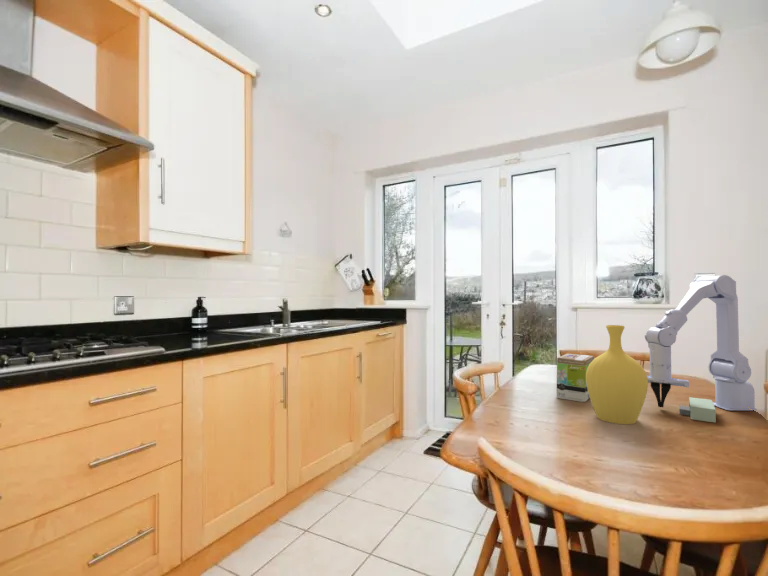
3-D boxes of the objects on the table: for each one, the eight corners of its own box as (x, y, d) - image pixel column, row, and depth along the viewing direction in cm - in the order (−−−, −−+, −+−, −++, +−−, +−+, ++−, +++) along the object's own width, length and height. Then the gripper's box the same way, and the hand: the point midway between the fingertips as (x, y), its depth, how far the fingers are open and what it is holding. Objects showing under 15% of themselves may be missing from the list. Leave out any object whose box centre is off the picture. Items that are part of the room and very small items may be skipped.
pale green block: (690, 419, 118) (690, 406, 118) (689, 408, 128) (688, 397, 128) (715, 422, 114) (715, 409, 114) (711, 411, 125) (711, 399, 125)
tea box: (586, 403, 135) (586, 360, 135) (555, 398, 141) (555, 357, 141) (594, 394, 147) (594, 354, 147) (565, 390, 153) (565, 352, 153)
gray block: (679, 415, 122) (679, 409, 122) (679, 411, 126) (679, 405, 127) (708, 419, 118) (708, 413, 118) (707, 415, 122) (707, 409, 122)
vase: (659, 429, 109) (657, 328, 109) (595, 425, 112) (595, 327, 112) (634, 412, 124) (633, 324, 125) (579, 409, 128) (578, 323, 128)
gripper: (633, 363, 128) (633, 405, 128) (689, 368, 120) (689, 413, 120) (634, 360, 134) (635, 400, 134) (688, 365, 126) (688, 407, 125)
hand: (660, 406), depth 127 cm, fingers closed
